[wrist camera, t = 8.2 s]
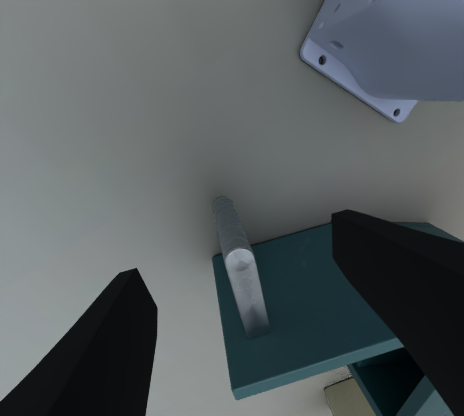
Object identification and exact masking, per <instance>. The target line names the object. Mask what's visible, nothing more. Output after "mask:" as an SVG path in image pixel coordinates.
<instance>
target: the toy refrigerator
mask: <svg viewBox="0 0 464 416" xmlns="http://www.w3.org/2000/svg"><path fill="white" fill-rule="evenodd" d="M325 394H326V397H327V400H328V403H329V406H330V409H331V412H332V414H333V416H376V415H375V413H374V411H373V410H372V408H371V406H370V405H369V403H368V401H367V399H366V398H365V396H364V394H363V393H362V391H361V389H360V388H359V386H358V384H357V382H356V381H355V379H354V377H353V378H351V379H348V380H346V381H343V382H340V383H338V384H335V385H332V386H330V387H327V388H325Z"/></svg>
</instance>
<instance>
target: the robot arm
mask: <svg viewBox="0 0 464 416" xmlns="http://www.w3.org/2000/svg"><path fill="white" fill-rule="evenodd" d="M320 56H322V58H323V63H322V65H320V64H319V61H318V60H319V57H320ZM300 57H301V59H302V60H303V61H304V62H306V63H307V64H309V65H310V66H312V67H313V68H315V69H316V70H318V71H319V72H321V73H322V74H324V75H325V76H326V77H328V78H329V79H331V80H332V81H334V82H335V83H337V84H338V85H340V86H341V87H343V88H344V89H346V90H347V91H348V92H350V93H351V94H353V95H354V96H356V97H357V98H359V99H360V100H362V101H363V102H365V103H366V104H368V105H369V106H371V107H372V108H373V109H375V110H376V111H378V112H379V113H381V114H382V115H384V116H385V117H387V118H388V119H390V120H391V121H393V122H395V123H401V122H403V121H404V120H405V119H406V117H407V116H408V114H409V113H410V111H411V110H412V109H413V107H414V106H415V104H416V103H417V101H418V100H431V101H464V0H325V1H324V3H323V5H322V7H321V9H320V11H319V13H318V15H317V17H316V19H315V21H314V23H313V25H312V27H311V29H310V31H309V33H308V35H307V37H306V39H305V41H304V43H303V45H302V47H301V50H300ZM395 110H396V113H395V114H394V115H393V113H394V111H395ZM332 257H333V259H334V261H335V262H336V264H337V265H338V267H339V268H340V270H341V271H342V273H343V274H344V276H345V277H346V279H347V280H348V281H349V283H350V284H351V285H352V286H353V287H354V288H355V290H356V291H357V292H358V293H359V294H360V295H361V297H362V298H363V299H364V300H365V301H366V302H367V304H368V305H369V306H370V307H371V308H372V309H373V310H374V312H375V313H376V314H377V315H378V316H379V317H380V318H381V320H382V321H383V322H384V323H385V324H386V325H387V326H388V328H389V329H390V330H391V331H392V332H393V333H394V335H395V336H396V337H397V338H398V339H399V341H400V342H401V343H402V344H403V346H404V347H405V348H406V349H407V351H408V352H409V353H410V355H411V356H412V357H413V359H414V360H415V362H416V363H417V364H418V366H419V367H420V368H421V370H422V371H423V373H424V374H425V375H426V377H427V378H428V379H429V381H430V382H431V384H432V385H433V386H434V388H435V389H436V391H437V392H438V394H439V395H440V396H441V398H442V399H443V401H444V402H445V404H446V405H447V406H448V408H449V409H450V411H451V412H452V414H453V415H454V416H464V243H462V242H458V241H455V240H451V239H447V238H443V237H440V236H436V235H432V234H429V233H425V232H422V231H418V230H415V229H412V228H408V227H405V226H402V225H398V224H395V223H392V222H389V221H386V220H382V219H379V218H376V217H373V216H370V215H366V214H363V213H359V212H356V211H352V210H344V211H340V212H337V213H333V214H332ZM156 340H157V306H156V304H155V302H154V300H153V298H152V296H151V294H150V293H149V291H148V289H147V287H146V285H145V283H144V281H143V279H142V277H141V275H140V273H139V271H138V269H137V268H135V269H131V270H128V271H124V272H120V273H119V274H118V275H117V276H116V277H115V278H114V279H113V280H112V281H111V282H110V283H109V285H108V286H107V287H106V288H105V289H104V290H103V292H102V293H101V294H100V295H99V296H98V297H97V299H96V300H95V301H94V302H93V303H92V304H91V306H90V307H89V308H88V309H87V310H86V311H85V313H84V314H83V315H82V316H81V317H80V318H79V319H78V321H77V322H76V323H75V324H74V325H73V326H72V328H71V329H70V330H69V331H68V332H67V333H66V334H65V335H64V336H63V337H62V338H61V340H60V341H59V342H58V343H57V344H56V345H55V346H54V347H53V348H52V349H51V350H50V352H49V353H48V354H47V355H46V356H45V357H44V358H43V359H42V360H41V361H40V362H39V364H38V365H37V366H36V367H35V368H34V369H33V370H32V371H31V372H30V373H29V374H28V375H27V376H26V377H25V378H24V379H23V380H22V381H21V382H20V383H19V384H18V385H17V386H16V387H15V388H14V389H13V390H12V391H11V392H10V393H9V394H8V395H7V396H6V397H5V398H4V399H3V400H2V401H0V416H145V415H146V408H147V401H148V395H149V388H150V381H151V375H152V368H153V361H154V354H155V347H156Z"/></svg>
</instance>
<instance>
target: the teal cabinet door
mask: <svg viewBox="0 0 464 416" xmlns="http://www.w3.org/2000/svg"><path fill="white" fill-rule="evenodd" d="M212 208H213V213H214V218H215V222H216V227H217V231H218V236H219V240H220V245H221V250H222V255H219V256H215V257H212V262H213V268H214V275H215V282H216V289H217V295H218V302H219V309H220V316H221V322H222V329H223V336H224V343H225V349H226V356H227V363H228V369H229V376H230V383H231V390H232V392H233V395H234V397H235V399H236V400H240V399H243V398H246V397H249V396H252V395H255V394H258V393H261V392H265V391H268V390H271V389H274V388H277V387H280V386H283V385H286V384H289V383H293V382H296V381H299V380H302V379H305V378H308V377H311V376H314V375H317V374H321V373H324V372H327V371H330V370H333V369H336V368H339V367H342V366H345V365H349V364H352V363H355V362H358V361H361V360H364V359H367V358H370V357H373V356H377V355H380V354H383V353H386V352H389V351H392V350H395V349H398V348H401V347H404V346H403V344H402V343H401V342H400V341H399V339H398V338H397V337H396V336H395V335H394V333H393V332H392V331H391V330H390V329H389V328H388V326H387V325H386V324H385V323H384V322H383V321H382V320H381V318H380V317H379V316H378V315H377V314H376V313H375V312H374V310H373V309H372V308H371V307H370V306H369V305H368V304H367V302H366V301H365V300H364V299H363V298H362V297H361V295H360V294H359V293H358V292H357V291H356V290H355V288H354V287H353V286H352V285H351V284H350V283H349V281H348V280H347V279H346V277H345V276H344V274H343V273H342V271H341V270H340V268H339V267H338V265H337V264H336V262H335V261H334V259H333V257H332V223H330V224H327V225H323V226H320V227H316V228H313V229H309V230H306V231H302V232H299V233H295V234H292V235H289V236H285V237H282V238H278V239H275V240H271V241H268V242H264V243H261V244H257V245H254V246H251V245H250V243H249V241H248V238H247V236H246V233H245V231H244V229H243V226H242V224H241V221H240V219H239V217H238V214H237V212H236V209H235V207H234V205H233V202H232V200H231V199H230V198H228V197H226V196H220V197H218V198H216V199H215V200H214V202H213V204H212Z"/></svg>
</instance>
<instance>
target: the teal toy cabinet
mask: <svg viewBox="0 0 464 416" xmlns="http://www.w3.org/2000/svg"><path fill="white" fill-rule="evenodd" d="M392 223H395V222H392ZM395 224H398V225H402V226H405V227H408V228H412V229H415V230H418V231H422V232H425V233H429V234H432V235H436V236H440V237H443V238H447V239H451V240H455V241H458V242H462V243H464V242H463V241H462V240H460V239H458V238H456V237H454V236H452V235H450V234H448V233H447V232H445V231H443V230H441V229H439V228H437V227H435V226H433V225H431V224H430V223H395ZM347 367H348V369H349V370H350V372H351V374H352V376H353V377H354V379H355V381H356V382H357V384H358V386H359V388H360V389H361V391H362V393H363V394H364V396H365V398H366V399H367V401H368V403H369V405H370V406H371V408H372V410H373V411H374V413H375V415H376V416H454V415H453V414H452V412H451V411H450V409H449V408H448V406H447V405H446V404H445V402H444V401H443V399H442V398H441V396H440V395H439V394H438V392H437V391H436V389H435V388H434V386H433V385H432V384H431V382H430V381H429V379H428V378H427V377H426V375H425V374H424V373H423V371H422V370H421V368H420V367H419V366H418V364H417V363H416V362H415V360H414V359H413V357H412V356H411V355H410V353H409V352H408V351H407V349H406V348H405V347H401V348H398V349H395V350H392V351H389V352H386V353H383V354H380V355H377V356H373V357H370V358H367V359H364V360H361V361H358V362H355V363H352V364H349V365H347Z"/></svg>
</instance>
